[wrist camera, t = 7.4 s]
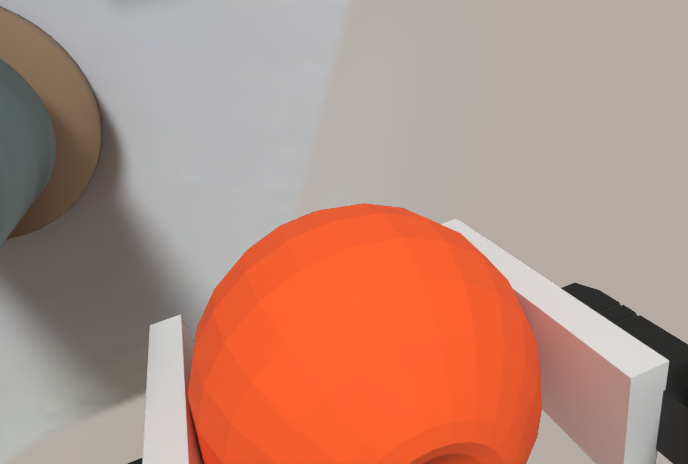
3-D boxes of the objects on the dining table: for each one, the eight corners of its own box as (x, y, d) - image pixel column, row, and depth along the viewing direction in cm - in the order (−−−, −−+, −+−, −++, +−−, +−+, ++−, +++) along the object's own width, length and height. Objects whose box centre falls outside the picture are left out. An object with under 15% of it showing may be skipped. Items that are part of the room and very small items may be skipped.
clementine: (443, 374, 16) (621, 598, 10) (234, 455, 14) (285, 783, 8) (421, 136, 12) (676, 246, 6) (142, 208, 11) (109, 451, 5)
